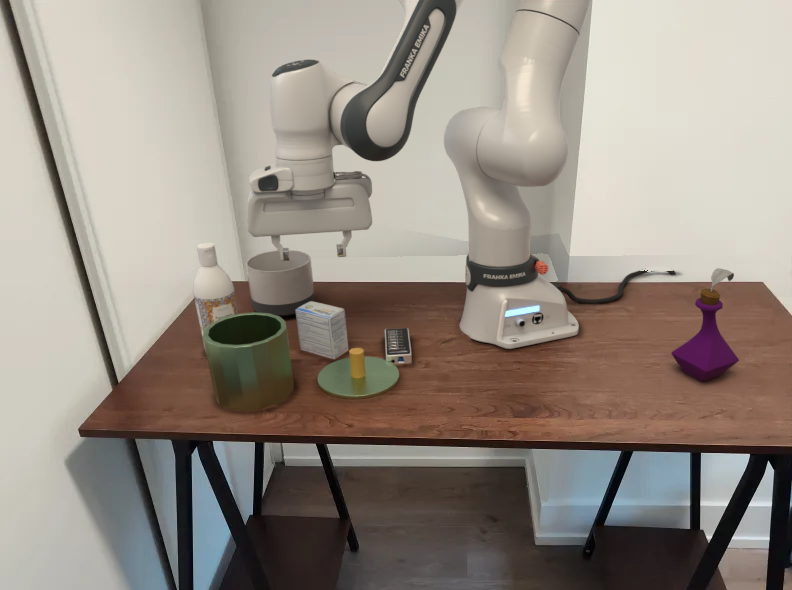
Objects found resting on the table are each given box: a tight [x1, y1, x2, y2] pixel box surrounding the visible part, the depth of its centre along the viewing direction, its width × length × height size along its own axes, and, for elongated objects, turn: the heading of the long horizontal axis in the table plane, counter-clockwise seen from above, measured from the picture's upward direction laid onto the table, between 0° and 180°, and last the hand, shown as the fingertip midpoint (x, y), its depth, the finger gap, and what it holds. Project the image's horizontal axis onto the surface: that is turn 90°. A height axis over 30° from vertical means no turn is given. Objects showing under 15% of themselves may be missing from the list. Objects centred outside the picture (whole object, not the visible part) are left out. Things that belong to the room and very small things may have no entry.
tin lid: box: [316, 347, 400, 400], centre depth 113 cm, size 14×14×6 cm
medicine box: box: [295, 301, 350, 360], centre depth 122 cm, size 8×4×9 cm, turn 57°
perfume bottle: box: [670, 267, 740, 383], centre depth 109 cm, size 8×8×18 cm
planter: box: [245, 249, 316, 318], centre depth 139 cm, size 13×13×10 cm
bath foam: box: [192, 242, 239, 353], centre depth 121 cm, size 7×7×20 cm
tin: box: [202, 311, 295, 411], centre depth 109 cm, size 13×13×12 cm
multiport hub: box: [384, 327, 413, 365], centre depth 123 cm, size 4×11×2 cm, turn 4°
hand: (313, 258), depth 115 cm, fingers open, 8 cm apart
